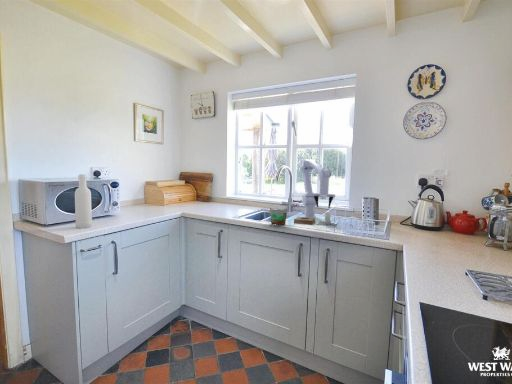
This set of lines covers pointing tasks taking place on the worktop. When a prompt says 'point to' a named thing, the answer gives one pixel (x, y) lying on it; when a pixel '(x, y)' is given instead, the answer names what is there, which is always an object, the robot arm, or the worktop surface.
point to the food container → (278, 216)
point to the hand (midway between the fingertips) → (323, 207)
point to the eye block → (304, 220)
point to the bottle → (83, 204)
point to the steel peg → (327, 217)
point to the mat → (326, 224)
